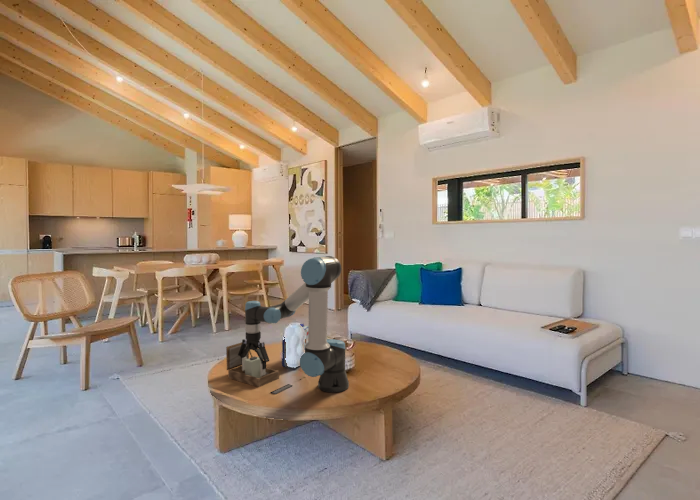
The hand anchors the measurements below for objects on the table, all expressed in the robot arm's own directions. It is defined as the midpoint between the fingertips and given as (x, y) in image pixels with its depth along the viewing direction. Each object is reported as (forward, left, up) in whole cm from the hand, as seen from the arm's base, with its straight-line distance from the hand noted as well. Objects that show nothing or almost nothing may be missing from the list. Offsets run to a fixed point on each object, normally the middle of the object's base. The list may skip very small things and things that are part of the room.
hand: (253, 372), depth 213 cm
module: (0, 0, -3) cm, 3 cm away
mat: (-17, +1, -4) cm, 17 cm away
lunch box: (-1, -32, -4) cm, 32 cm away
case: (0, 0, -4) cm, 4 cm away
